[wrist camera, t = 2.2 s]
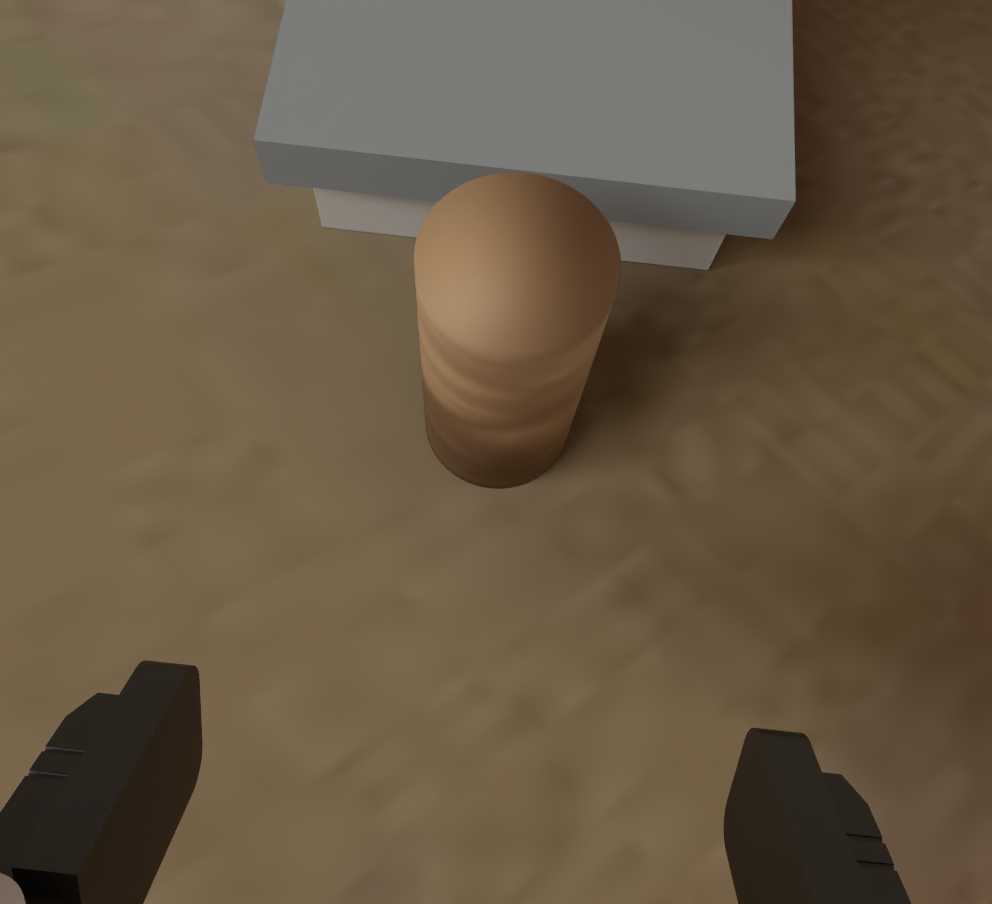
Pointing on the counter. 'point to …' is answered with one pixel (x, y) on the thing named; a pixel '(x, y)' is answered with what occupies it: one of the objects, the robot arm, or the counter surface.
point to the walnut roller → (509, 321)
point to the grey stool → (540, 112)
